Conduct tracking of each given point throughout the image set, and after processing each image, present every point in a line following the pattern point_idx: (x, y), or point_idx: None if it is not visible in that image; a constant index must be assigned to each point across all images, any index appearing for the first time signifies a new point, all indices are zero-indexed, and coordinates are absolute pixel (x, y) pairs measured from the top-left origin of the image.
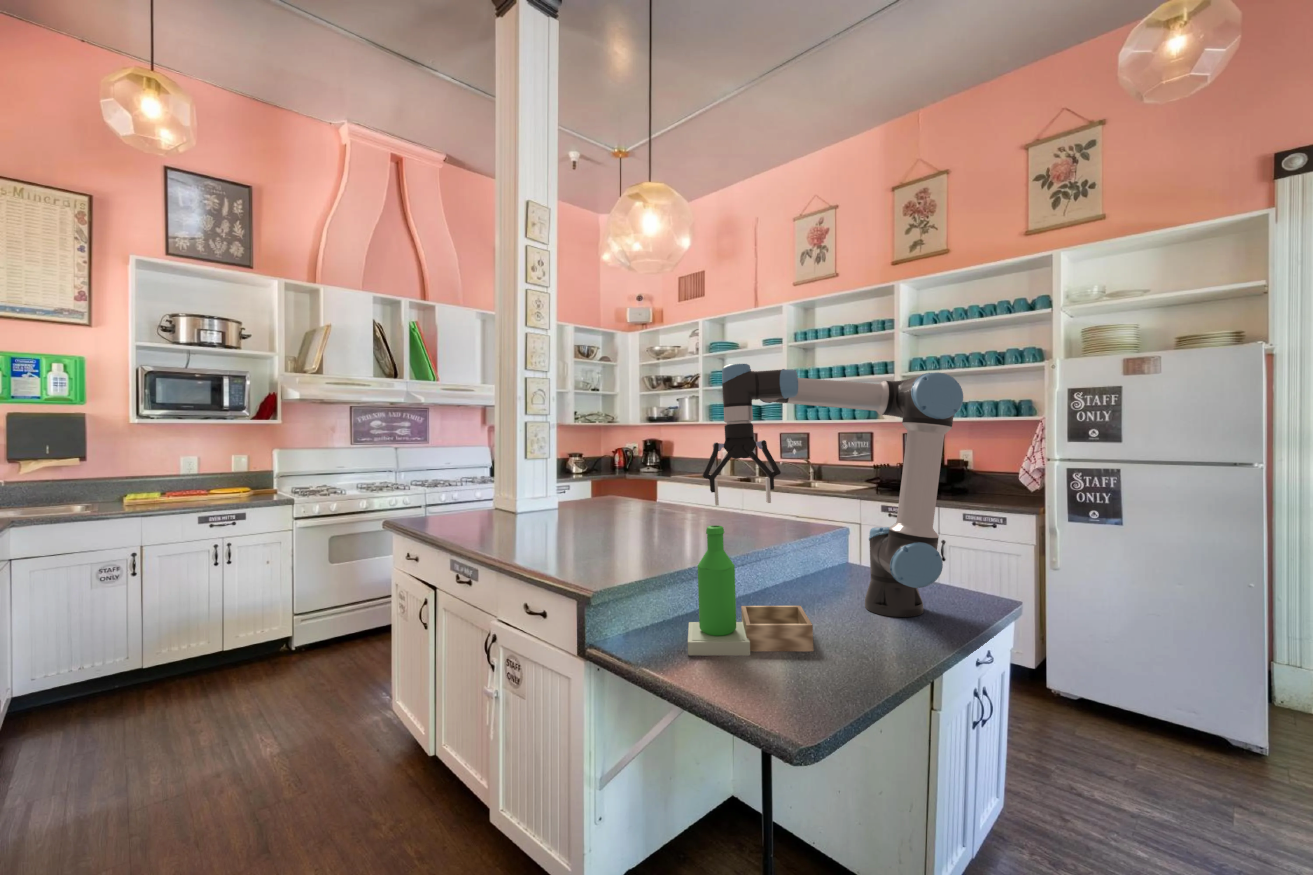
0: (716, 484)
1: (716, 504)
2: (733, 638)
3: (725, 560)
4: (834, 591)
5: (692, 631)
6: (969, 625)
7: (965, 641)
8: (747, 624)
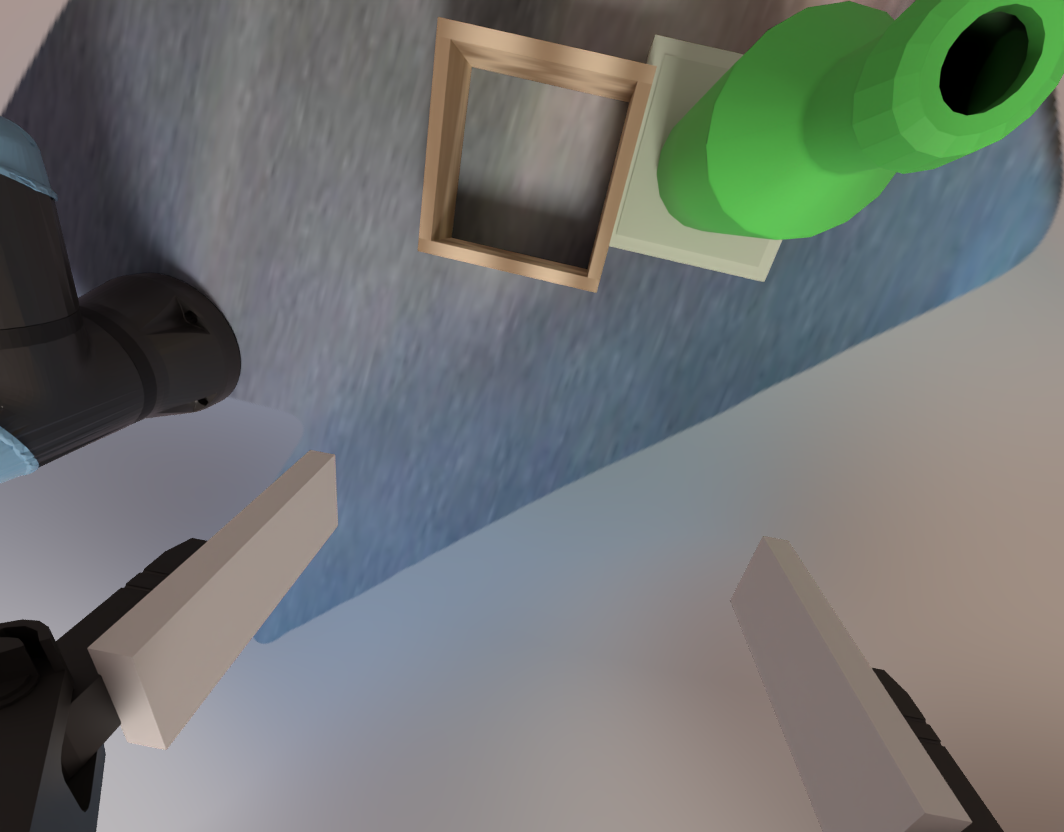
0: (901, 743)
1: (786, 545)
2: (694, 79)
3: (805, 37)
4: None
5: None
6: None
7: (47, 48)
8: (649, 74)
